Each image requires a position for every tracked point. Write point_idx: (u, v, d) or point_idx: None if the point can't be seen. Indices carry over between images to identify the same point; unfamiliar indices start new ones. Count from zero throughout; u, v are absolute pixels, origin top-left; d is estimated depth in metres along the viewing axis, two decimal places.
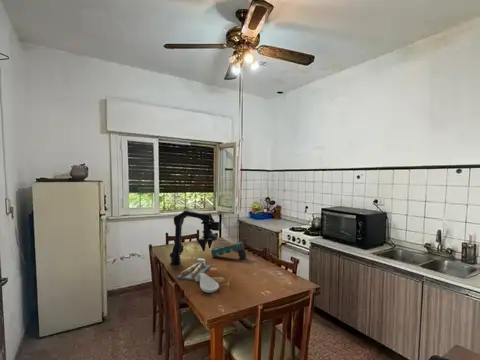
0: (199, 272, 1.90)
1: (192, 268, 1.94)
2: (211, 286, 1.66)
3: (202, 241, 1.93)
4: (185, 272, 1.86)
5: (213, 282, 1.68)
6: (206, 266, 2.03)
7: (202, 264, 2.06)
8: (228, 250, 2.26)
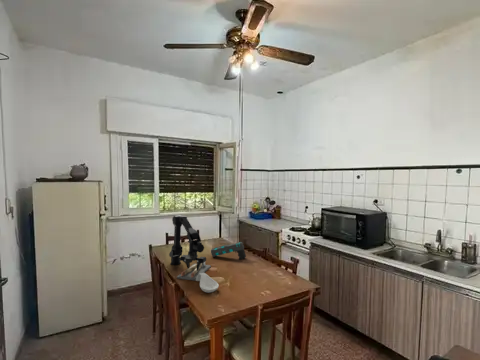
0: (199, 272, 1.90)
1: (192, 268, 1.94)
2: (211, 286, 1.67)
3: None
4: (185, 272, 1.86)
5: (213, 282, 1.68)
6: (206, 266, 2.03)
7: (202, 264, 2.06)
8: (228, 250, 2.26)
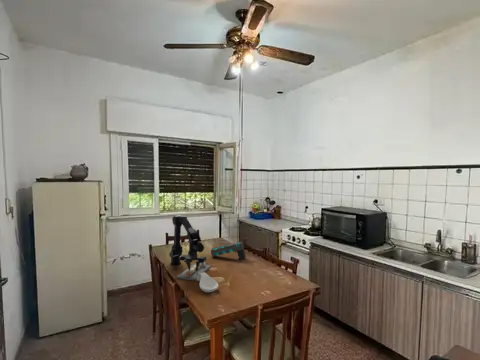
0: (199, 272, 1.90)
1: None
2: (211, 286, 1.67)
3: None
4: None
5: (213, 282, 1.68)
6: (206, 266, 2.03)
7: (202, 264, 2.06)
8: (227, 250, 2.25)
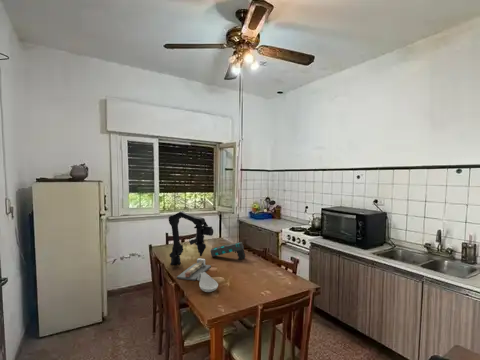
0: (199, 272, 1.90)
1: None
2: (211, 285, 1.67)
3: None
4: None
5: (213, 282, 1.69)
6: (206, 266, 2.03)
7: (202, 264, 2.06)
8: (227, 250, 2.25)
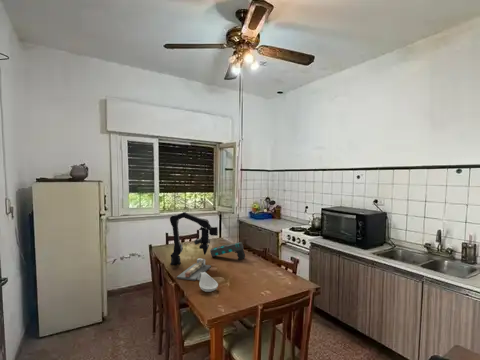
0: (199, 272, 1.90)
1: None
2: (211, 285, 1.67)
3: None
4: None
5: (213, 281, 1.69)
6: (206, 266, 2.03)
7: (202, 264, 2.06)
8: (227, 250, 2.25)
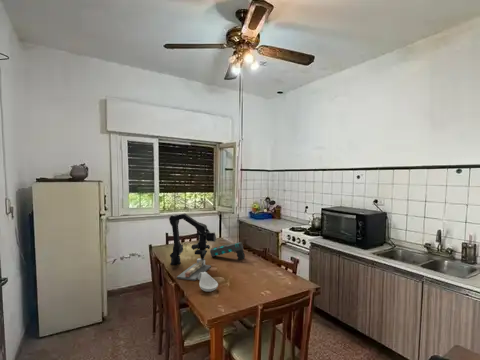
0: (199, 272, 1.90)
1: None
2: (211, 285, 1.68)
3: None
4: None
5: (213, 281, 1.69)
6: (206, 266, 2.03)
7: (202, 264, 2.06)
8: (227, 250, 2.25)
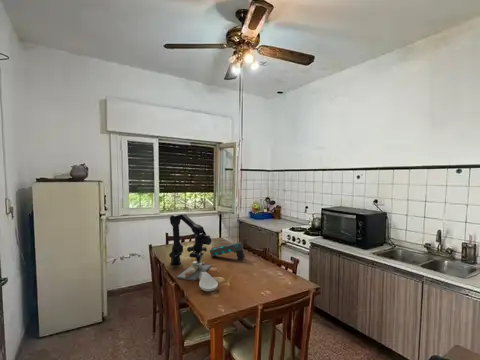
0: (199, 272, 1.90)
1: None
2: (211, 285, 1.68)
3: None
4: None
5: (213, 281, 1.69)
6: (206, 266, 2.03)
7: (202, 264, 2.06)
8: (226, 250, 2.25)
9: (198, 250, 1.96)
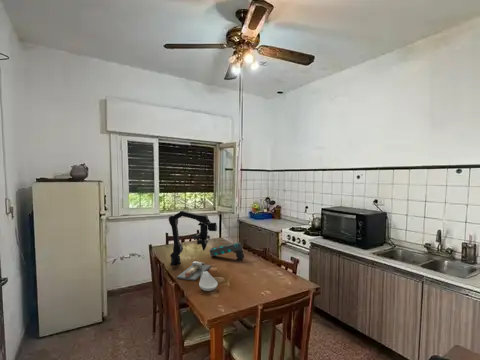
0: (199, 272, 1.90)
1: None
2: (211, 285, 1.68)
3: None
4: None
5: (213, 281, 1.70)
6: (206, 266, 2.03)
7: (202, 264, 2.06)
8: (226, 250, 2.25)
9: (204, 237, 2.06)
